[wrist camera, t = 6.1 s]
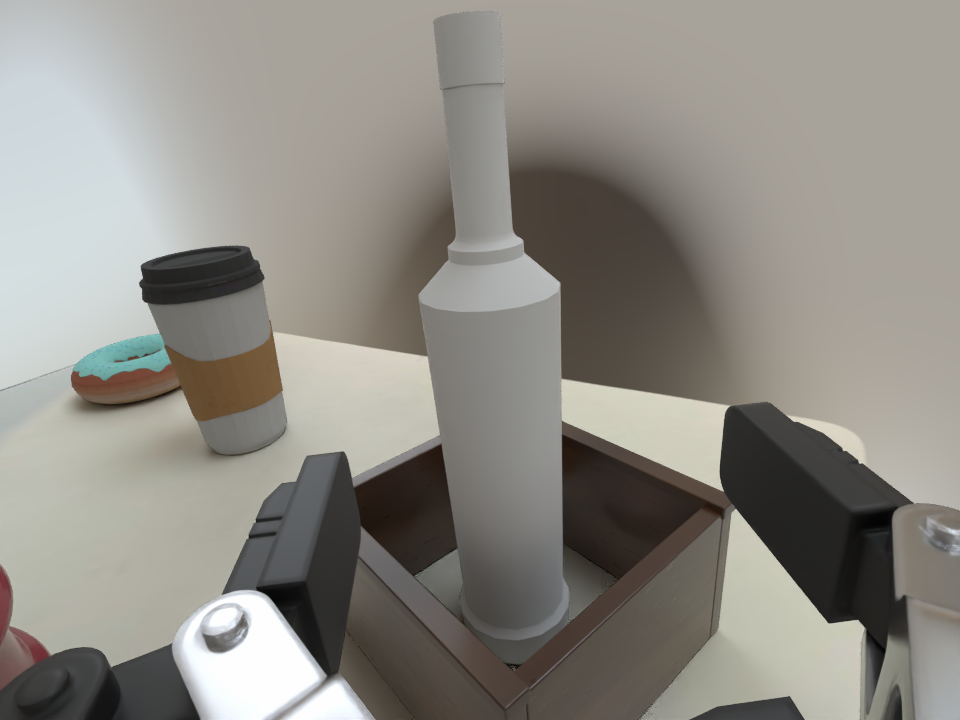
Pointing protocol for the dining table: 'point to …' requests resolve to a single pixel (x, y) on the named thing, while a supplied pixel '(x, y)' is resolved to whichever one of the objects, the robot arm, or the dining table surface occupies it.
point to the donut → (125, 372)
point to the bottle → (495, 366)
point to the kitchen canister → (15, 639)
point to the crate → (586, 639)
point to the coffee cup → (219, 343)
